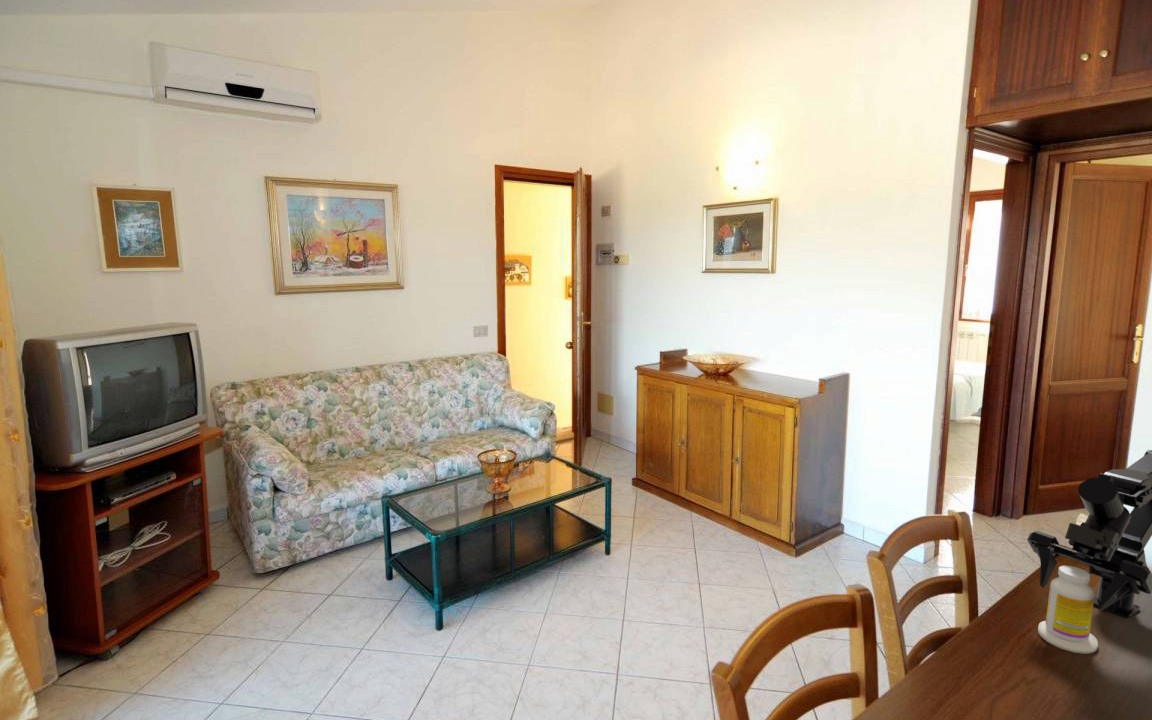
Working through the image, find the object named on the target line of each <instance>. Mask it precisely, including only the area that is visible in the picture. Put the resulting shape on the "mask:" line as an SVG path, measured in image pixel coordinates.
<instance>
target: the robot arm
mask: <svg viewBox="0 0 1152 720" xmlns="http://www.w3.org/2000/svg"><path fill="white" fill-rule="evenodd" d="M1077 491H1078V494H1079V497H1080V498H1081V500H1082V503H1083V505H1084V507H1085V510H1086V511H1087V512H1088V516H1087V518H1086V520H1085V522H1081V523H1080V525H1079V524H1076V523H1072V522H1069V523H1068V527H1067V531H1066V533H1065V537H1064V539H1066V540H1068V544H1069V546H1072V548H1071V547H1068V546H1065V545H1063V544H1060V542H1059V541H1058V538H1057V537H1056V536H1054V535H1051V534H1048V533H1045V532H1042V531H1039V530H1035V531H1032V532H1030V533H1029V534H1028V537H1027V539H1026V541H1027V542H1028V544H1029V546H1030V548H1031V549H1032V551H1033V552H1034V553H1035V554H1037V556H1038V558H1039V561H1040V570H1039V573H1040V575H1039V578H1040V579H1039V587H1040V588H1043V589H1044V588H1045V587H1046V586H1047V584H1048V583H1049V580H1050V578H1051V576H1052V575H1053V572H1054V570H1055V568H1056V567H1057V564H1058V561H1057V560H1056V559H1058V558H1059V556H1062V557H1065V558H1067V559H1070V560H1074V561H1076V562H1080V563H1082V564H1085V565H1087V566H1088V570H1089V571H1088V573H1089V574H1090V575H1094V576H1098V577H1099V582H1098V584H1099V585H1098V589H1097V595H1096V596H1094V603H1093V606H1095V607H1097V610H1098V611H1100V612H1102V611H1104V610H1106V611H1109V612H1111V613H1113V614H1116V615H1118V616H1121V617H1124V618H1125V619H1126V618H1127V619H1128V618H1130V617H1132V616H1133V615H1135V614H1136V613H1137V612H1139V611H1140V610H1141V607H1140V605H1136V604H1135V597H1136V595H1140V594H1141V593H1145V594H1152V572H1151V570H1150V568H1149V567H1148V565H1147V561H1146V554H1145V550H1144V549H1145V547H1146V545H1147V544H1148V542H1149V541H1150V539H1151V538H1152V449H1151V450H1150V449H1146V451H1145V453H1144V455H1143V456H1142V457H1141V458H1139V459H1138V460H1137V461H1135V462H1133V463H1132V464H1131V465H1129V466H1128V467H1126V468H1124V469H1123V468H1122V469H1118V468H1115V469H1114V468H1113V469H1110V470H1107V471H1105V472H1104V473H1101V472H1100V473H1099V474H1098V475H1097V477H1093V478H1092V477H1091V478H1088V479H1085V480H1084V481H1082V482H1081V483H1080V484H1079V485H1078V488H1077ZM1125 506H1128V507H1132V510H1131V512H1130V511H1129V510H1128V508H1127V507H1125Z"/></svg>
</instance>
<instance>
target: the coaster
mask: <svg viewBox="0 0 1152 720" xmlns="http://www.w3.org/2000/svg"><path fill="white" fill-rule="evenodd" d="M1037 632H1038V635H1039V636H1040V637H1041V638H1042V639H1043V640H1044V641H1045V642H1047V643H1048V644H1050V645H1052V646H1054V647H1056V648H1058V649H1061V650H1064V651H1068V652H1071V653H1076V654H1083V655H1084V654H1085V655H1087V654H1088V655H1089V654H1094V653H1095V652H1097V650H1098V646H1099V641H1098V639H1097V638H1096V636H1094V635H1093V634H1092V633H1091V632H1090V634H1089V638H1088V640H1086V641H1084V642H1073V641H1068V640H1065V639H1062V638H1059V637H1057V636H1055V635H1054V634H1052V633H1051V632H1050V631H1049V630H1048V629H1047V627H1046V620H1043V621H1041V622H1039V624H1038V627H1037Z"/></svg>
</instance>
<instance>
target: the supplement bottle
mask: <svg viewBox="0 0 1152 720" xmlns="http://www.w3.org/2000/svg"><path fill="white" fill-rule="evenodd" d="M1057 570H1058V571H1057V574H1058V576H1057V577H1055V578H1053V579H1051V582H1050V584H1049V593H1048V601H1047V609H1046V616H1045V621H1046V627H1047V629H1048V630H1049V631H1050V632H1051V633H1052V634H1054V635H1055V636H1057V637H1059V638H1062V639H1065V640H1068V641H1073V642H1084V641H1086V640H1088V638H1089V634H1090V633H1091V627H1092V626H1091V625H1092V617H1093V610H1094V605H1093V603H1094V598H1095V591H1094V589H1093V588H1092V587H1091V586H1090V585H1089V583H1090V579H1091V574H1090V573H1089V571H1088V572H1087V571H1086V570H1084V569H1082V568H1079V567H1076V566H1072V565H1060V566H1059V567H1058V569H1057Z"/></svg>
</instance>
